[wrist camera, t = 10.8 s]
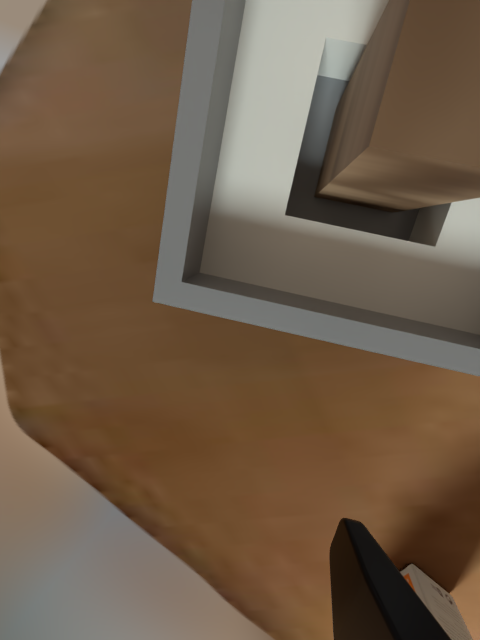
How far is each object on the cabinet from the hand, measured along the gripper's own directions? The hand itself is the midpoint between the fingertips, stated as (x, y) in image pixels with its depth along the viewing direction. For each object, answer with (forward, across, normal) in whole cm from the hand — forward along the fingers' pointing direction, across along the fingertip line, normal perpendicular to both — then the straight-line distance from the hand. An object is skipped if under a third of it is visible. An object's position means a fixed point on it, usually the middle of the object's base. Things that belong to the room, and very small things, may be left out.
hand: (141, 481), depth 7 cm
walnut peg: (+12, -5, -10) cm, 16 cm away
